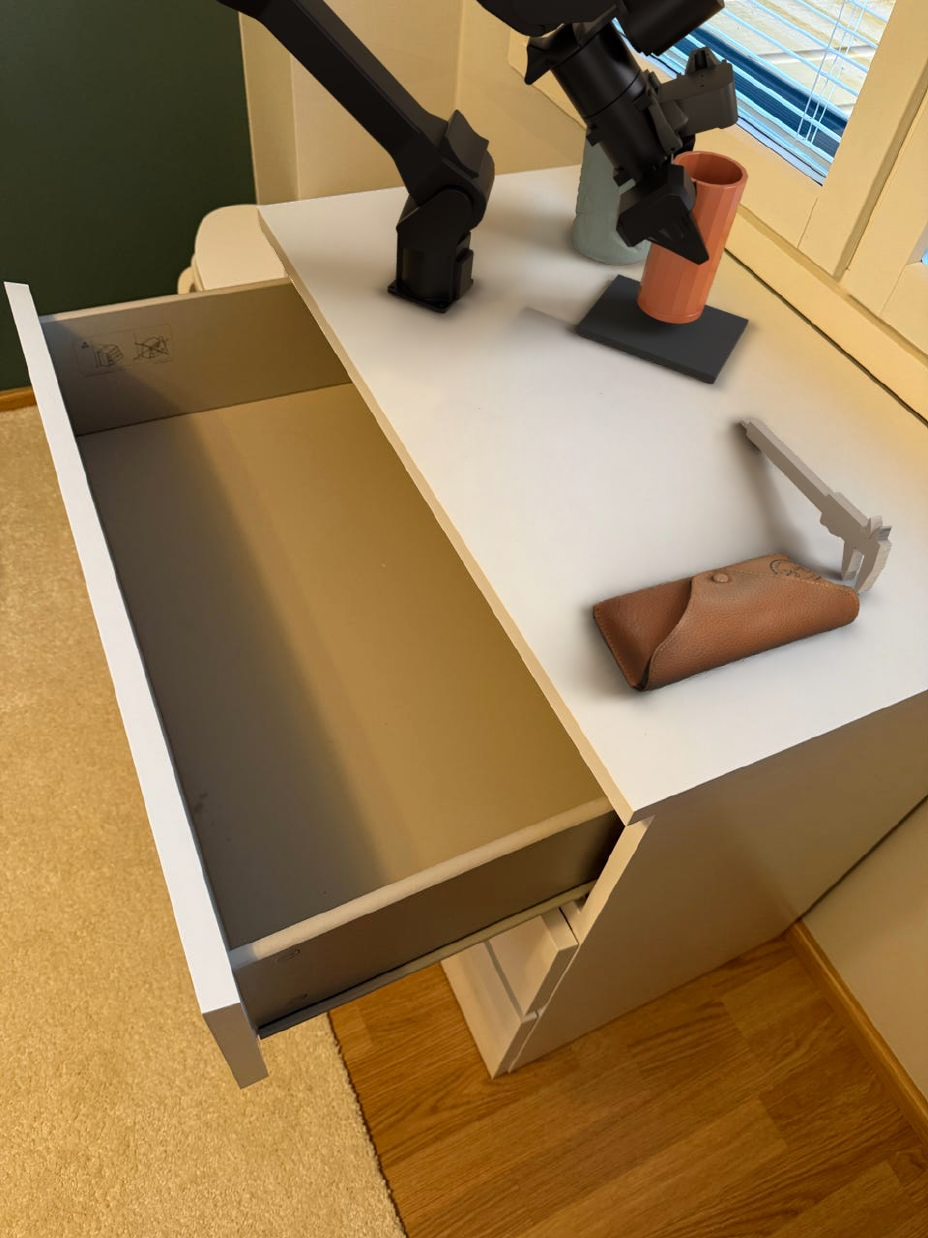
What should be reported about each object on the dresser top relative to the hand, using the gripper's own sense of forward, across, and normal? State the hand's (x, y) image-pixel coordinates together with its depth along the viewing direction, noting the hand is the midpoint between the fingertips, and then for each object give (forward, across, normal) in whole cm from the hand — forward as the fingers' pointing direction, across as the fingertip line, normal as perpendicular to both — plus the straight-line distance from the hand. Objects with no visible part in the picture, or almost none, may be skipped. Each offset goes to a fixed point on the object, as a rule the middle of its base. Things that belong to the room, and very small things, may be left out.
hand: (703, 241), depth 83 cm
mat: (+6, 0, +7) cm, 9 cm away
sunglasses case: (+9, -37, +4) cm, 38 cm away
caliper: (+14, -22, -1) cm, 26 cm away
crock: (+4, 0, +6) cm, 7 cm away
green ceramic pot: (+2, +14, +12) cm, 18 cm away
